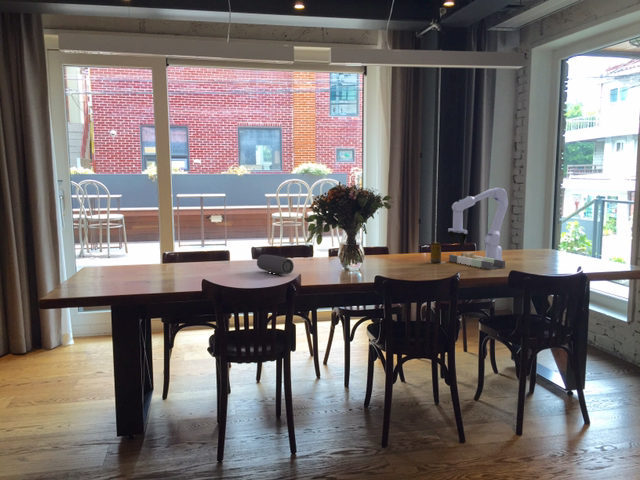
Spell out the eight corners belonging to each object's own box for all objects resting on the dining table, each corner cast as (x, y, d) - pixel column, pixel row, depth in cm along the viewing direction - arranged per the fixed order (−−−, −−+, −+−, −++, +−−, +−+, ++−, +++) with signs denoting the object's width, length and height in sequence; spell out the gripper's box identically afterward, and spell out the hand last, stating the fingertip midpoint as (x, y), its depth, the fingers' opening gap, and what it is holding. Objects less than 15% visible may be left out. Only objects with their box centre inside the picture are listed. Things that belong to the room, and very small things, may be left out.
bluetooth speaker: (294, 275, 290) (294, 256, 289) (281, 277, 284) (280, 258, 283) (269, 270, 307) (269, 252, 306) (256, 272, 301) (255, 254, 300)
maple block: (469, 258, 324) (469, 252, 323) (475, 259, 319) (475, 253, 319) (462, 259, 322) (462, 252, 321) (468, 260, 317) (468, 253, 317)
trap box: (463, 259, 333) (463, 253, 333) (505, 267, 303) (505, 260, 302) (449, 261, 328) (449, 254, 328) (490, 269, 298) (490, 262, 298)
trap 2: (493, 266, 308) (493, 265, 308) (502, 268, 302) (502, 267, 302) (483, 267, 305) (483, 266, 305) (492, 269, 299) (492, 268, 299)
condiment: (435, 261, 329) (435, 241, 328) (446, 262, 323) (446, 242, 321) (427, 262, 325) (427, 242, 323) (438, 264, 318) (438, 244, 317)
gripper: (444, 221, 329) (444, 243, 330) (461, 223, 316) (460, 246, 318) (453, 220, 332) (453, 242, 334) (470, 222, 319) (469, 245, 321)
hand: (457, 244), depth 326 cm, fingers open, 7 cm apart
